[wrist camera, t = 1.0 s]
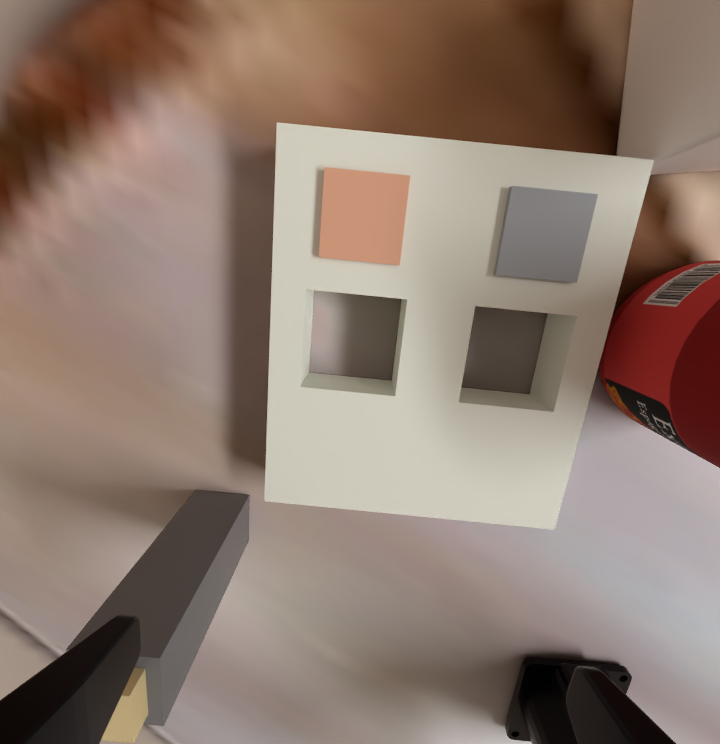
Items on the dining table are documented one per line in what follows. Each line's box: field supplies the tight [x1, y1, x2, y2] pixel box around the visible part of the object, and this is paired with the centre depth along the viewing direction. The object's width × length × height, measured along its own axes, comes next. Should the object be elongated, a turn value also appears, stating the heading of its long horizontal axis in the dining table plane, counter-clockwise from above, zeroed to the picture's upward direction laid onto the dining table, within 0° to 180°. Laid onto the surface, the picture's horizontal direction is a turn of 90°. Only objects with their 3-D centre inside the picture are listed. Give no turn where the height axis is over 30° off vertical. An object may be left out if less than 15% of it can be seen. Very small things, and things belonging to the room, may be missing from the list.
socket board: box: [264, 123, 654, 530], centre depth 17 cm, size 16×14×3 cm
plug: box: [66, 490, 249, 743], centre depth 16 cm, size 3×3×10 cm
